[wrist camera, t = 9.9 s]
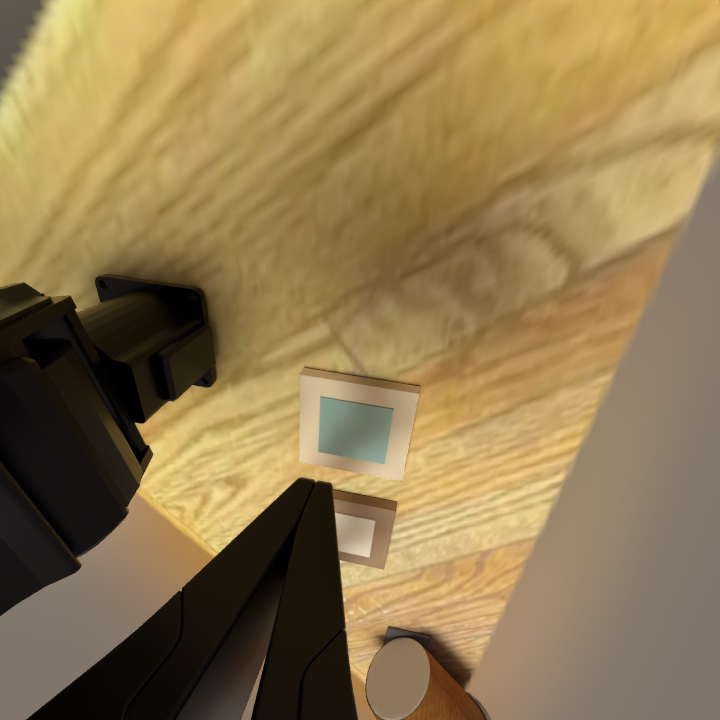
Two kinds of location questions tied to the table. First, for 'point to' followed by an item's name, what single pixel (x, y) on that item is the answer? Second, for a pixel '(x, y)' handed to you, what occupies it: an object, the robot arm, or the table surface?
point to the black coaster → (396, 633)
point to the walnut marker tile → (363, 528)
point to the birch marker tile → (356, 423)
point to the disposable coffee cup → (416, 686)
